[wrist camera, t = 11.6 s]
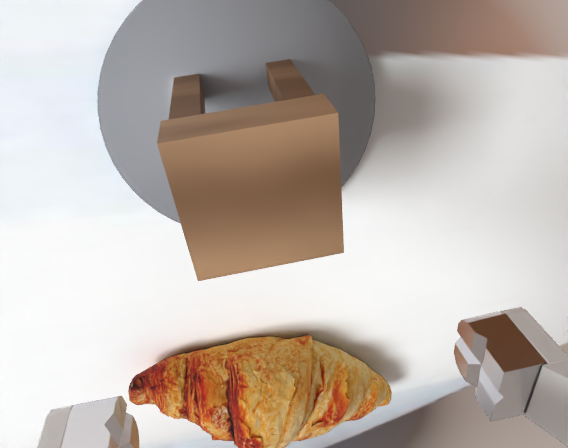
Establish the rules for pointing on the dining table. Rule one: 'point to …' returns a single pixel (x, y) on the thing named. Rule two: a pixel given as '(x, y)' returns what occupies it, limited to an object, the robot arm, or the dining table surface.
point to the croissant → (263, 390)
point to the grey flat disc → (225, 74)
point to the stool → (254, 175)
